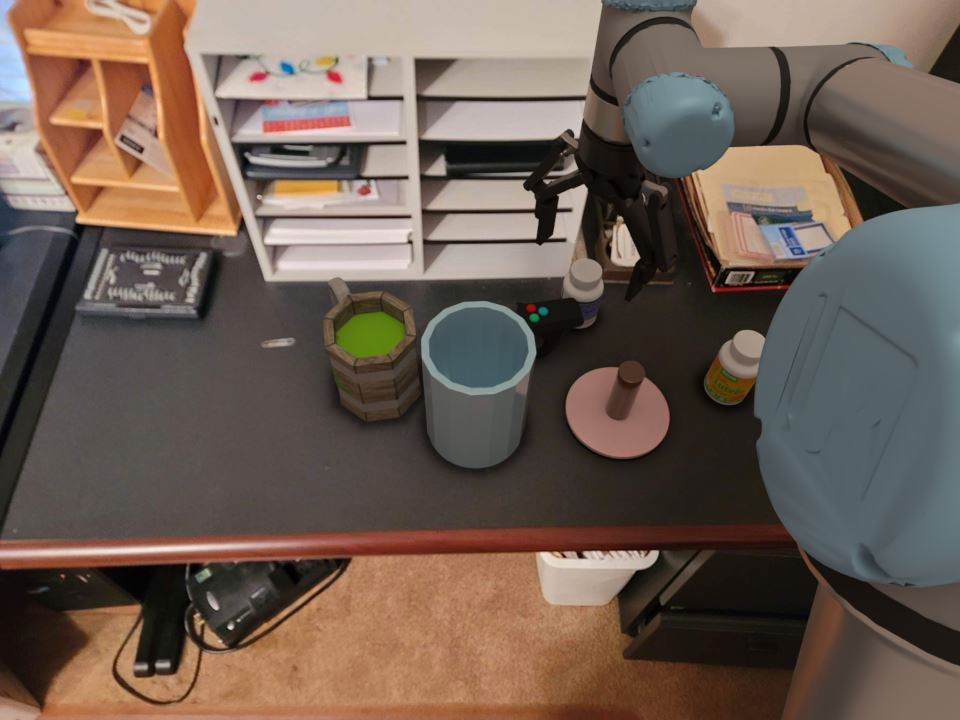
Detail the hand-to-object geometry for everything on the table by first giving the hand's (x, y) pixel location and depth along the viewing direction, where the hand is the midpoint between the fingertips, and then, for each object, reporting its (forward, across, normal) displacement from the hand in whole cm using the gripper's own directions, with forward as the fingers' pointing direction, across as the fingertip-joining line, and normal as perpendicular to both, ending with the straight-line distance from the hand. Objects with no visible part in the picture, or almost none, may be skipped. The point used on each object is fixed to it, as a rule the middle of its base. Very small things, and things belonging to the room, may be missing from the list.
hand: (587, 266), depth 87 cm
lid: (+9, -13, +10) cm, 18 cm away
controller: (+10, +1, +9) cm, 13 cm away
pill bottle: (+10, 0, 0) cm, 10 cm away
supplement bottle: (+10, -21, -3) cm, 23 cm away
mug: (+10, +14, +25) cm, 30 cm away
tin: (+9, -1, +22) cm, 24 cm away
